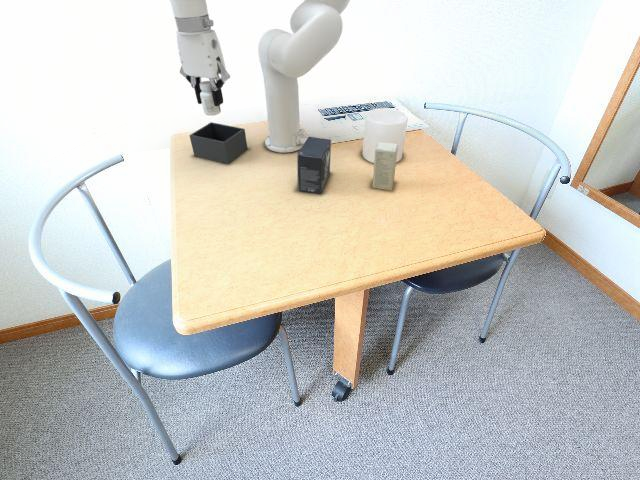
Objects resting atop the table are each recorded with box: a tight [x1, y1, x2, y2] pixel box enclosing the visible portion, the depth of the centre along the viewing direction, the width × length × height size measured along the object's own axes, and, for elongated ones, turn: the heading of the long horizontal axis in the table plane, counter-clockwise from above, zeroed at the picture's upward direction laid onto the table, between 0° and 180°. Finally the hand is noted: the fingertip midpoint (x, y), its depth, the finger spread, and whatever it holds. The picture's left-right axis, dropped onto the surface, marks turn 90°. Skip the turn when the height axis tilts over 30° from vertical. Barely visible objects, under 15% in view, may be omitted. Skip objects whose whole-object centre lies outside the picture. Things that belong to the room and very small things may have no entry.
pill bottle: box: [200, 80, 222, 117], centre depth 96 cm, size 4×4×8 cm
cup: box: [362, 107, 409, 164], centre depth 106 cm, size 12×12×12 cm
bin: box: [189, 121, 249, 165], centre depth 109 cm, size 12×10×7 cm
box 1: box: [296, 136, 332, 195], centre depth 95 cm, size 11×7×10 cm, turn 166°
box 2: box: [372, 142, 398, 191], centre depth 93 cm, size 5×4×11 cm
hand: (210, 102), depth 96 cm, fingers closed on pill bottle, 4 cm apart
